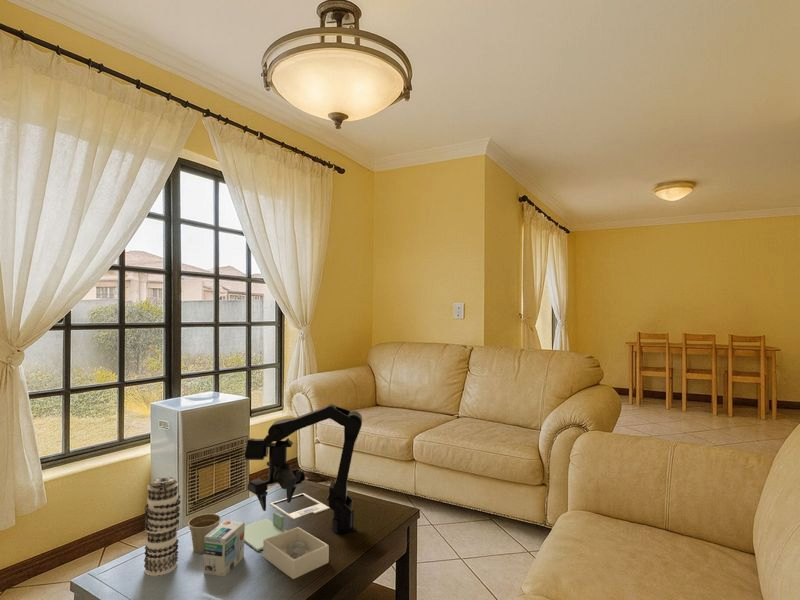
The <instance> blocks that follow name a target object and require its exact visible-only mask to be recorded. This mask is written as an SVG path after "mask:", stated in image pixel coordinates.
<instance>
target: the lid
mask: <svg viewBox="0 0 800 600" xmlns="http://www.w3.org/2000/svg"><path fill="white" fill-rule="evenodd" d="M284 523H285V516H284V515H282V514H280V513H278V512H277V511H274V512H273V513H272V520H270V519H269V518H268V517H266V518H263V519H261V520H257V521H255V522H251V523H249V524H245V531H244V543H246V544H247V545H249V546H250V547H251V548H253V549H254V550H255V551H257V552H259V551H260V550H262V551H263V542H264V540H265V539H267V538H270V537H273V536H275V535H278V534H280V533H283V532H286V531H287V529H285V528H284V526H285V524H284Z"/></svg>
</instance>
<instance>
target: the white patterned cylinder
mask: <svg viewBox="0 0 800 600" xmlns="http://www.w3.org/2000/svg"><path fill="white" fill-rule="evenodd" d="M178 486H179V481H178V480H176V479H175V478H174V477H172V476H162V477H157V478H154V479H153V480H152V481H151V482H150V484H148V485H147V487H146V489H147V490H148V491H147V499H146V505H144V516H145V519H144V520H145V521H144V524H145V525H144V530H145V531H146V532H147V533H146V536H147V537H146V540H145V545H144V549H145V552H144V555H145V556H144V560H143V561H144V565H143V567H144V573H146V574H147V576H149V575H150V577H158V575H160V576H164V575H167V574H169V573H171V572H173V571H174V570H176V569H177V567H178V564H177V563H178V561H179V560H178V559H179V556H178V555H179V551H178V549H179V548H178V547H179V545H178V544H179V539H178V531H177V528H178V526H179V523H180V520H179V519H178V518H179V517H180V512H179V511H180V510H181V508H180V506H179V505H180V504H181V500H180V499H181V495H180V494H179V492H178V490H179V489H178ZM172 570H173V571H172ZM166 573H167V574H166ZM146 574H145V575H146ZM163 574H164V575H163Z"/></svg>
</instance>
